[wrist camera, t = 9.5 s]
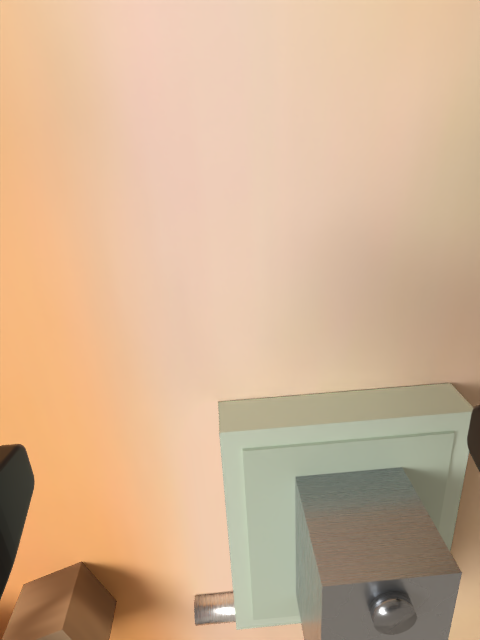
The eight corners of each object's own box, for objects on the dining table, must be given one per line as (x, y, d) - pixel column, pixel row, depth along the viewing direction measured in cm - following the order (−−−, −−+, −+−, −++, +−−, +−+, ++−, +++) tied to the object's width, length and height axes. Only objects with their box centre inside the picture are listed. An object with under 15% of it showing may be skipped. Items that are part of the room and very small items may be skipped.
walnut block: (81, 560, 27) (61, 629, 23) (116, 599, 28) (103, 670, 25) (24, 583, 27) (-5, 654, 23) (61, 620, 29) (40, 693, 25)
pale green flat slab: (450, 382, 23) (479, 413, 21) (421, 570, 29) (441, 612, 26) (218, 401, 23) (219, 435, 20) (234, 589, 28) (236, 633, 26)
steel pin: (304, 604, 29) (303, 580, 29) (309, 621, 28) (307, 595, 28) (197, 614, 29) (195, 589, 29) (195, 631, 27) (193, 606, 27)
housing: (402, 467, 22) (470, 587, 16) (388, 585, 25) (441, 719, 19) (295, 476, 22) (326, 602, 16) (296, 594, 25) (321, 733, 19)
